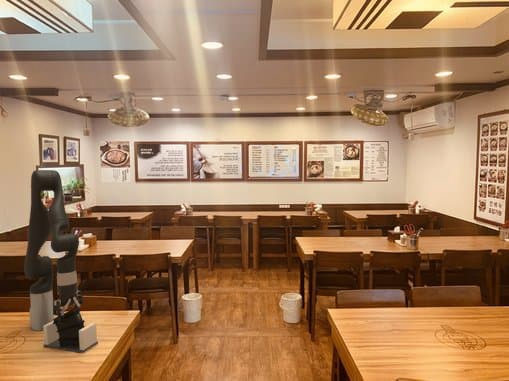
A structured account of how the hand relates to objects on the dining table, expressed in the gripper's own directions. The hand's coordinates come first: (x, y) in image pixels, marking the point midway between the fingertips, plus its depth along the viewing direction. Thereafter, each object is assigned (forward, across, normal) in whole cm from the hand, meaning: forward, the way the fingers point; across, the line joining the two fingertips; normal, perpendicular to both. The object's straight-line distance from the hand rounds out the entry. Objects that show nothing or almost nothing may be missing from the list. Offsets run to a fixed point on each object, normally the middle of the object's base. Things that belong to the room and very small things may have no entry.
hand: (69, 319), depth 164 cm
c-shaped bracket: (+11, 0, 0) cm, 11 cm away
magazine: (+10, 0, 0) cm, 10 cm away
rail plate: (+11, 0, 0) cm, 11 cm away
